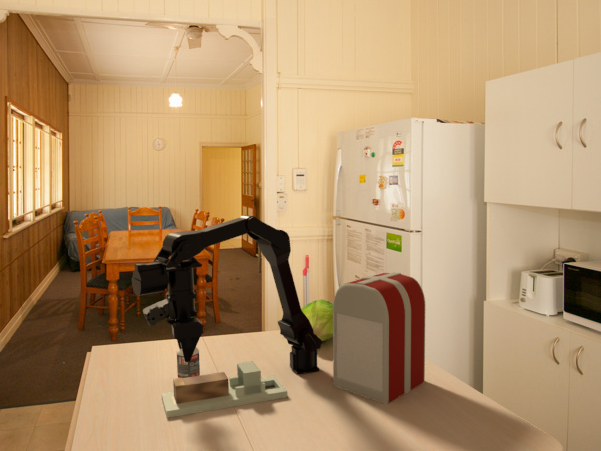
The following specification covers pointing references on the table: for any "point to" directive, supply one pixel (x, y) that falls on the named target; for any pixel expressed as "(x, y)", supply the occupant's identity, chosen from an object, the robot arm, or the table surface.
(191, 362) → the pill bottle
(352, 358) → the red striped block
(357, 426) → the table surface
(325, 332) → the lettuce
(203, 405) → the tunnel deck
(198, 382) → the brown rectangular block
